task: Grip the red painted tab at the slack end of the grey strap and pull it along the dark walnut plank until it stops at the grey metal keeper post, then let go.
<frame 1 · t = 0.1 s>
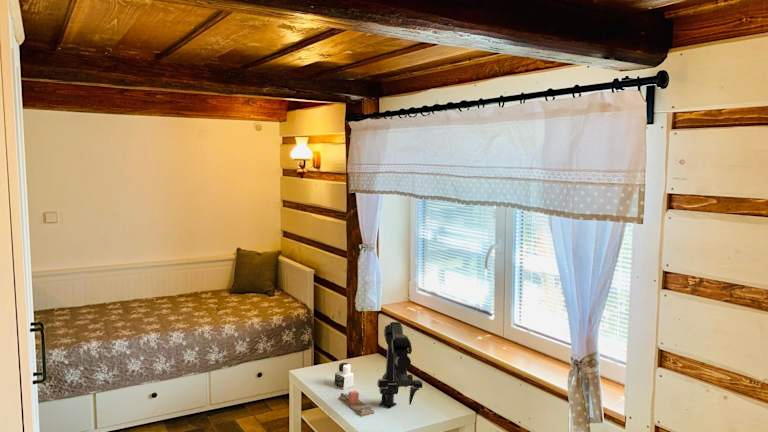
hand: (399, 404, 237), 15 cm above the table, tool pointing down, fingers open, 9 cm apart
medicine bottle: (343, 386, 292), on the table
plank: (358, 407, 268), on the table
tab: (349, 394, 274), point 3 cm above the table, slide at 0.0 cm
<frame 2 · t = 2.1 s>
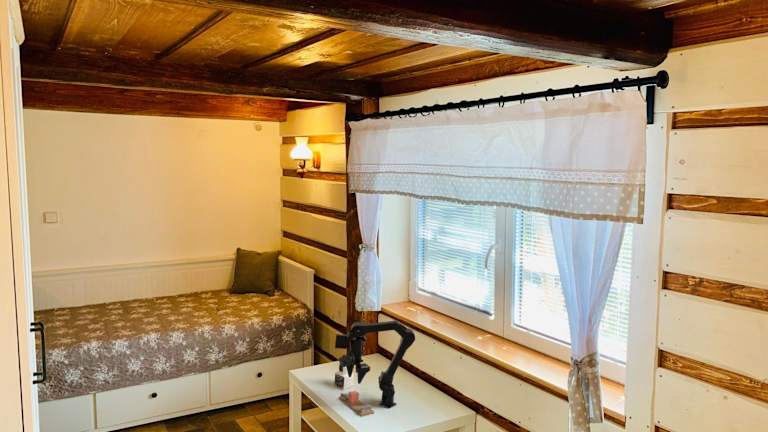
hand: (354, 380, 271), 12 cm above the table, tool pointing down, fingers open, 9 cm apart
nothing on the table moved.
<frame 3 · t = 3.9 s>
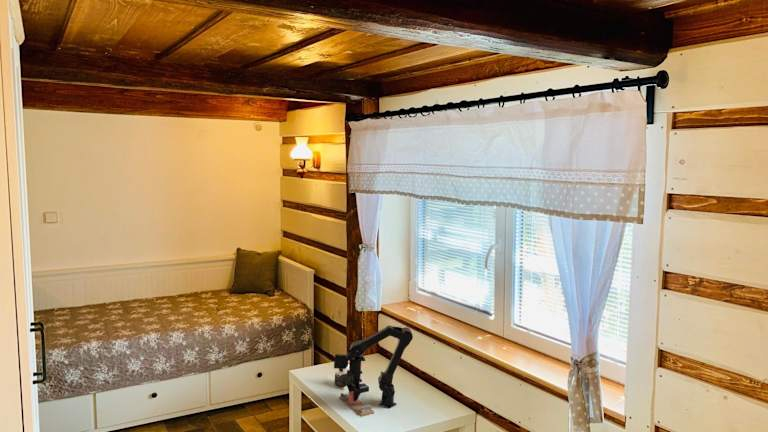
hand: (353, 399, 272), 2 cm above the table, tool pointing down, fingers closed on tab, 3 cm apart
tab: (349, 394, 274), point 3 cm above the table, slide at 0.0 cm, touching gripper
everything else where it was.
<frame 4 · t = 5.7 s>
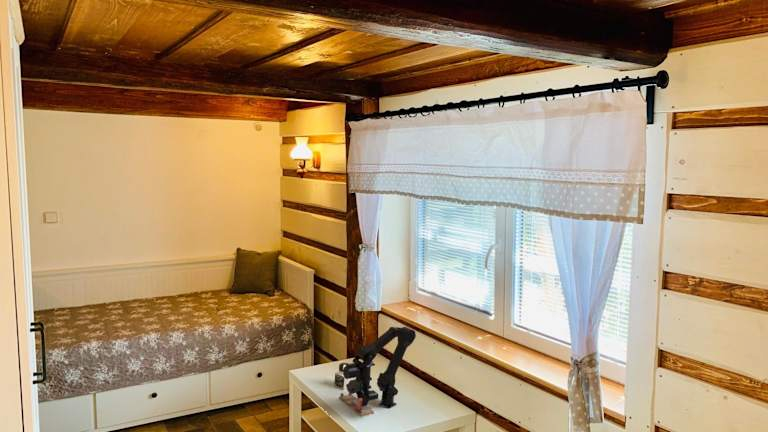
hand: (362, 406, 264), 2 cm above the table, tool pointing down, fingers closed on tab, 3 cm apart
tab: (358, 400, 267), point 3 cm above the table, slide at 8.5 cm, touching gripper
everything else where it was.
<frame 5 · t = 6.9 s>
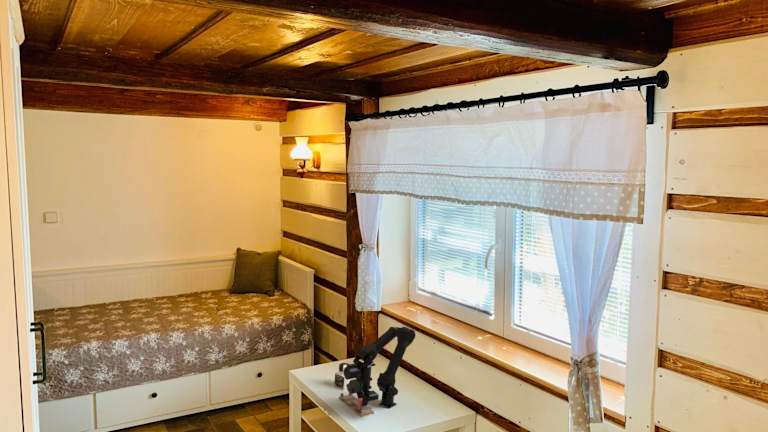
hand: (362, 406, 264), 2 cm above the table, tool pointing down, fingers closed on tab, 3 cm apart
tab: (358, 401, 267), point 3 cm above the table, slide at 8.5 cm, touching gripper
everything else where it was.
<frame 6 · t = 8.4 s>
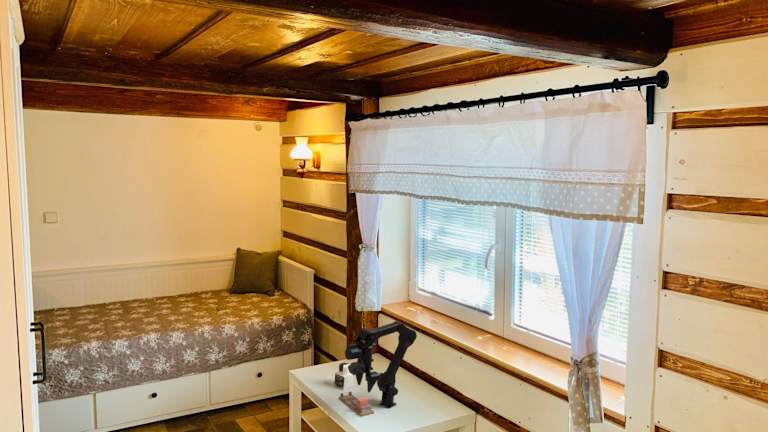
hand: (363, 388, 263), 11 cm above the table, tool pointing down, fingers open, 9 cm apart
tab: (358, 400, 267), point 3 cm above the table, slide at 8.4 cm
everything else where it was.
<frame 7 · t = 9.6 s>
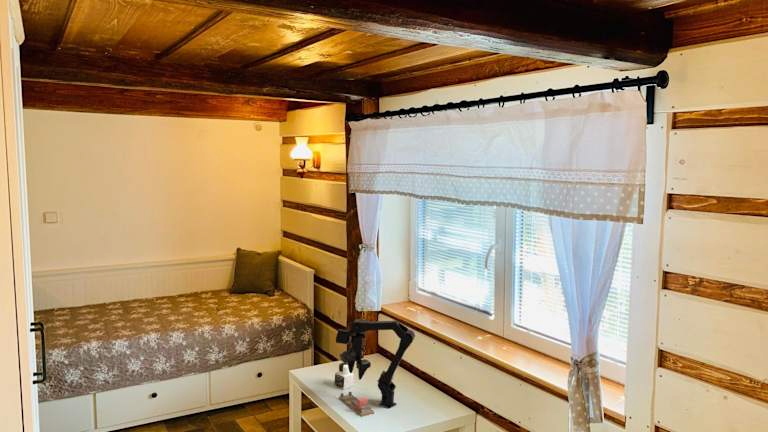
hand: (355, 376, 275), 12 cm above the table, tool pointing down, fingers open, 9 cm apart
nothing on the table moved.
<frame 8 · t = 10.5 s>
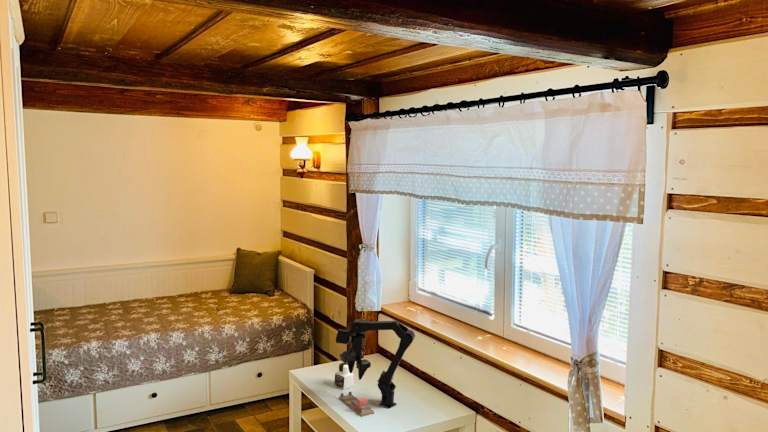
hand: (355, 376, 275), 12 cm above the table, tool pointing down, fingers open, 9 cm apart
nothing on the table moved.
at the end: tab slide at 8.4 cm; the gripper is holding nothing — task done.
